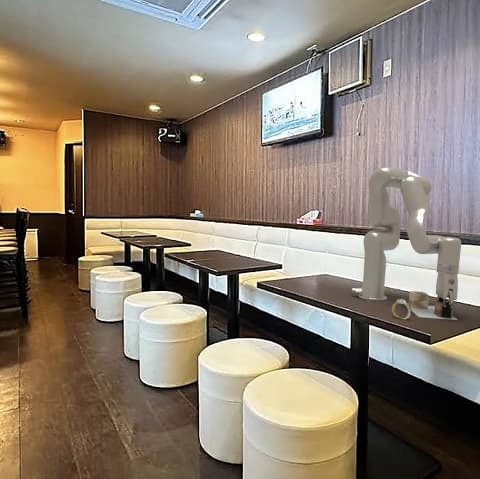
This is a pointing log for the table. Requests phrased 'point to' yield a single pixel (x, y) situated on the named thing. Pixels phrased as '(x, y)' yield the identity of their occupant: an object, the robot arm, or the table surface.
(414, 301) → the base block
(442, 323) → the table surface
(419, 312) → the board
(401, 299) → the bracelet
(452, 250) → the robot arm
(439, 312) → the walnut block
